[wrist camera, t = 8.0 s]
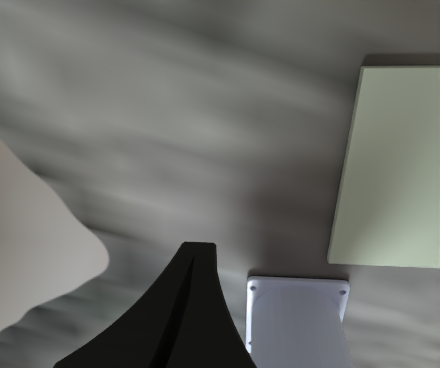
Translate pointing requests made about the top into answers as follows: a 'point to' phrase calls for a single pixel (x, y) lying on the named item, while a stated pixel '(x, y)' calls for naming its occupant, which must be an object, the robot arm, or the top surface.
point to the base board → (391, 171)
